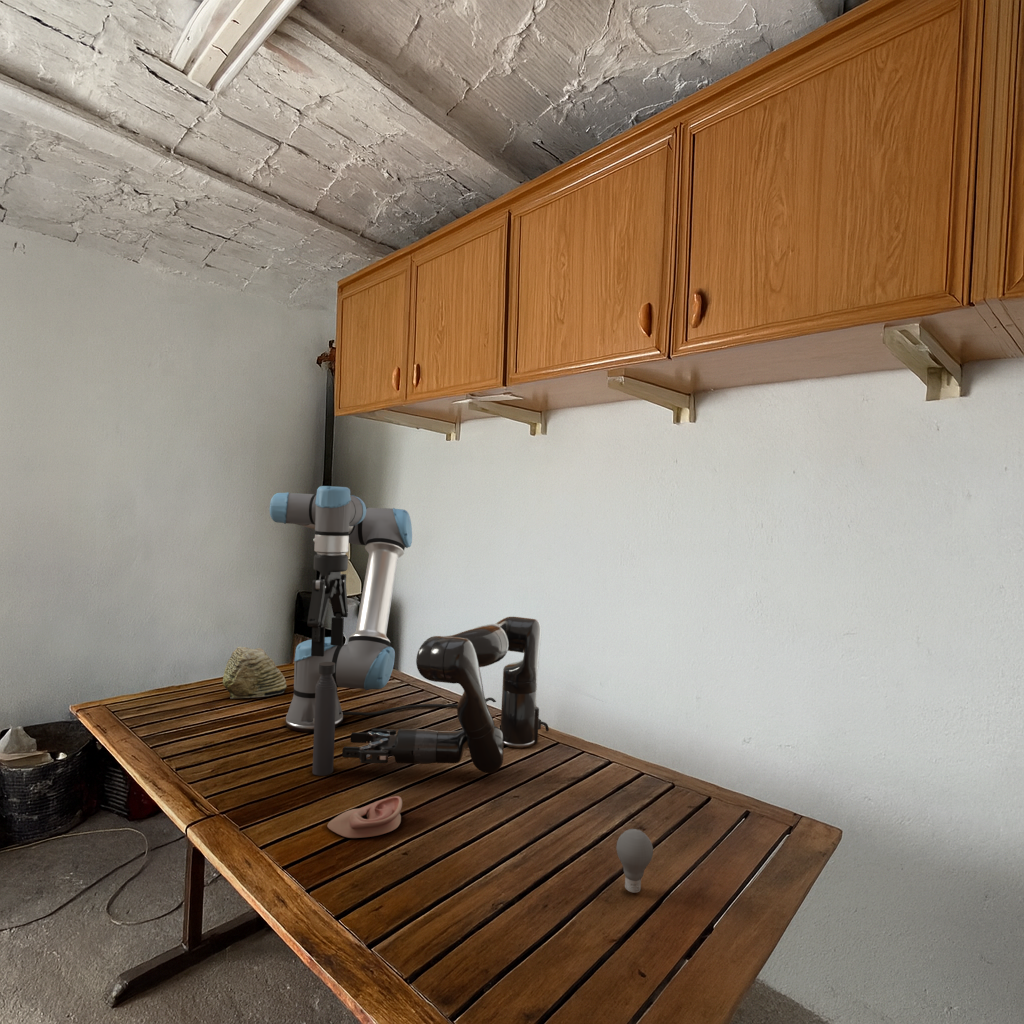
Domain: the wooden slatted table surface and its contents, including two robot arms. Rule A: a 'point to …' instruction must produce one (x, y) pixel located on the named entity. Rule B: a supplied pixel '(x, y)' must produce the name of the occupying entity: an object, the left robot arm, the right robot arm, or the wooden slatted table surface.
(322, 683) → the bottle
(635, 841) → the light bulb
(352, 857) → the wooden slatted table surface
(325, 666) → the cap
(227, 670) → the fossil
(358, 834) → the anatomical model
